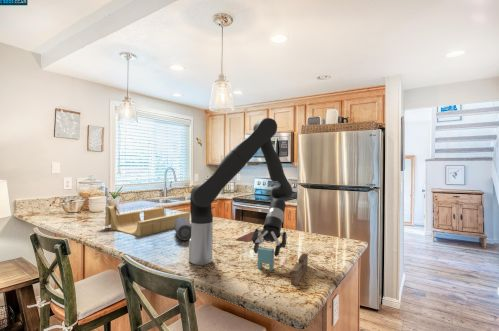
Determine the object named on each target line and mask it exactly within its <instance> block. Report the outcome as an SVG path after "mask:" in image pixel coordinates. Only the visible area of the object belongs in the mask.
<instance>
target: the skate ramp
mask: <svg viewBox="0 0 499 331" xmlns="http://www.w3.org/2000/svg"><path fill="white" fill-rule="evenodd" d="M148 207H149V206H147V209H146V207H143V209H142V208H139V210H133V209H130V211H129V212H125V210H122V211H123V212H122V211H120V212H119V209H118V207H117V205H108V203H106V206H105V216H104V217H105V220H104V221H105V224H104V226H105V229H107V227H109V226H110V229H111V230H113V231H116V232H119V233H123V234H126V235H132V236H137V237H144V236H147V235H151V234H156V233H158V232H164V231H168V230H171V228H172V229H175V221H176V220H177V219H178V218H180V217H184V218H186V219H187V220H188V221H189V222H190V223H191V212H190V210H185V211H177V212H175V211H174V213H170V214H166V212H165V207H163V206H161V205H160V204H159V205H157V206H156V207H153V208H148ZM141 213H143V218H141V215H140V214H141ZM141 219H142V220H141Z"/></svg>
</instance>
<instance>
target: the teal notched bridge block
mask: <svg viewBox="0 0 499 331" xmlns="http://www.w3.org/2000/svg"><path fill="white" fill-rule="evenodd" d="M274 252H275V248H269V247H268V248H267V247H261V246H259V248H258V252H257V269H259V270H260V269H262V268H263V264H267V265H269V267H268V270H269V271H270V272H272V271H273V270H274V268H275V267H274V265H275V264H274V263H275V261H274V260H275V255H274Z"/></svg>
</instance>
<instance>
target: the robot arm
mask: <svg viewBox="0 0 499 331" xmlns="http://www.w3.org/2000/svg"><path fill="white" fill-rule="evenodd" d="M277 131H278V124H277V121H276V120H275V119H274V118H270V117H264V118H262V119H259V120H257V121H256V122H255V123H254V125H253V131H252V133H251V134H250V135H249V136H248V137H247V138H245V139H243V141H241V142H240V143H238V144H237V145H235V146H234V147H233V148H232V149H231V150H230V151H229V152H227V154H226V155H225V156H224V157H223V158H222V160H221V161H220V163H219V164H218V166H217V168H216V169H215V171H214V172H213V174H212V175H211V176H210V177H209V178H208V179H206V181H204V182H203V183H201V184H196V185H195V186H193V188H192V189H191V191H190V200H189V202H190V209H189V211H190V224H191V238H190V239H188V262H189V263H191V264H192V265H198V266H205V265H209V264H211V263H212V262H213V241H214V240H213V233H214V232H213V230H214V228H213V225H214V224H213V223H214V222H213V221H214V220H213V217H214V216H213V213H212V212H213V210H212V203H213V202H214V201H215V200H216V199H217V197H218V195H219V194H220V193H221V191H222V190H223V189H224V188H225V187H226V186H227V184H228V183H230V182H231V181H232V180H233V179H234V178H235V177H236V176H237V174H239V173H240V172H241V171H242V170H243V168H244V167H246V165H247V164H248V162H250V160H251V159H252V158H253V157H254V156H255V154H257V152H258V151H259V150H261V152H262V154H263V155H262V156H263V157H264V160H265V161H264V162H265V164H266V166H267V167H266V168H267V171H268V174H269V178H270V181H272V182H276V183H278V185H277V184H276V185H273V186H272V187H271V189H270V204H269V207H268V211H267V214H266V217H265V221H264V223H263V228H262V229H258V228H255V230H254V231H255V232H254V235H253V237H252V241H251V243H253V244H254V246H253V251H254V254H258V248H260V245H261V244H263V243H264V242H268V243H269V242H270V243H274V242H275V245H276V246H275V248H274V257H277V256H279V254H280V251H281V249H282V248H283V249H284V248H286V245H287V238H288V235H287V232H286V231H284V232H281V230H282V225H283V222H284V217H285V216H284V215H285V210H286V205H287V204H286V202H285V200H286V199H291V197H293V190H294V189H293V188H292V185H291V183H290V182H289V180H288V179H287V177H286V174H285V170H284V169H283V168H284V166H283V164H282V161H281V159H280V157H279V156H278V155H279V154H277V152H276V150H275V148H274V146H273V143H272V138H273V137H274V136H275V135H276V134H277ZM261 230H262V231H261ZM260 234H262V235H261V236H260V237H259V238H258V235H260ZM279 238H282V239H281V242H280V241H279V240H278V239H279Z"/></svg>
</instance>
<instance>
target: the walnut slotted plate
mask: <svg viewBox="0 0 499 331" xmlns="http://www.w3.org/2000/svg"><path fill="white" fill-rule="evenodd" d="M308 261H309V260H308V253H304V252H303V253H301V255H300V256H299V258H298V262H295V264H294V265H293V267H292V268H291V269H290V270H291V271H290V284H291V286H298V285H299V282H300V281H301V279H302V278H303V276H304V273H305V272H306V270H307V268H308V265H309V264H308Z"/></svg>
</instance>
